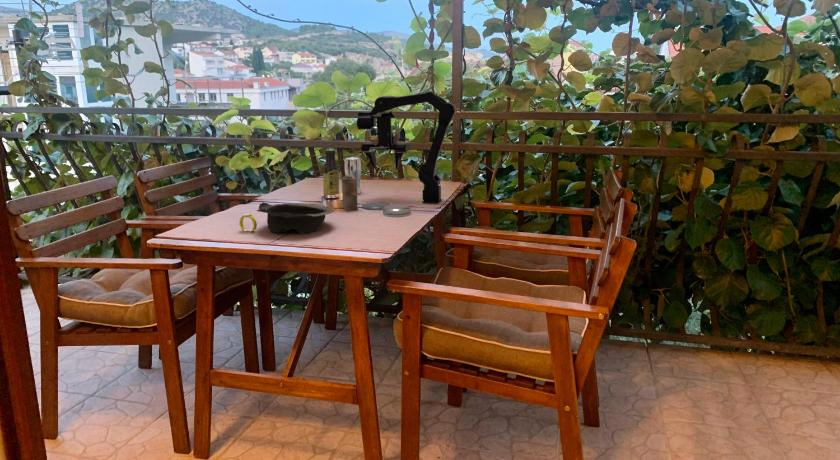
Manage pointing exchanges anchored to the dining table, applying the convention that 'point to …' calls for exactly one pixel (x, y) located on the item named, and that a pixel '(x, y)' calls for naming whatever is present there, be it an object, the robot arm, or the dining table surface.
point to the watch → (250, 218)
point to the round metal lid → (396, 210)
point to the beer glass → (354, 170)
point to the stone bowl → (294, 216)
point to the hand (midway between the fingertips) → (386, 169)
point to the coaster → (375, 206)
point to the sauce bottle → (330, 174)
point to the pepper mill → (349, 193)
